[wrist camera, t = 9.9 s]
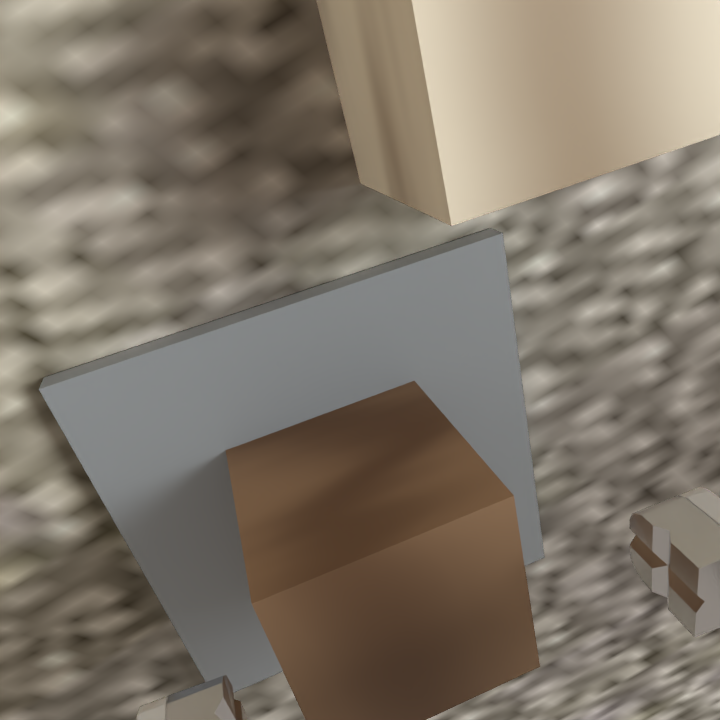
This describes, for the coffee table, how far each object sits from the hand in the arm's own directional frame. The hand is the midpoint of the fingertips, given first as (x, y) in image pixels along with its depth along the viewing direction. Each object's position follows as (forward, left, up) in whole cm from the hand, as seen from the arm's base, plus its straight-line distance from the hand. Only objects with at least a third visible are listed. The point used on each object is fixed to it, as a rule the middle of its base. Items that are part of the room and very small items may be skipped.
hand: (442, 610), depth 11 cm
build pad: (+1, +1, -6) cm, 6 cm away
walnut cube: (+1, +1, -5) cm, 5 cm away
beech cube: (-4, -9, -6) cm, 12 cm away
